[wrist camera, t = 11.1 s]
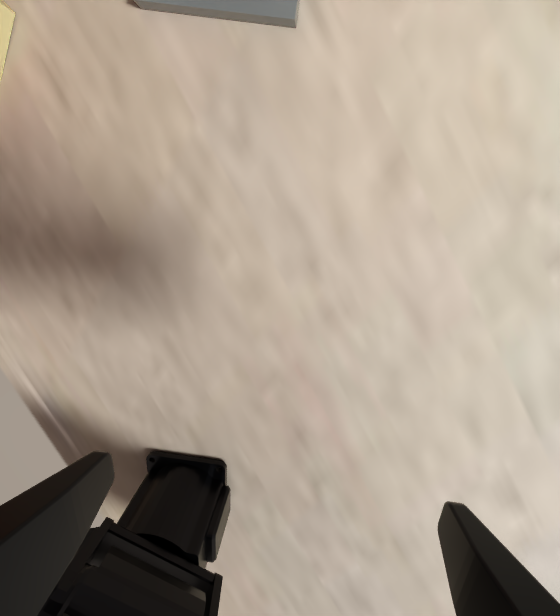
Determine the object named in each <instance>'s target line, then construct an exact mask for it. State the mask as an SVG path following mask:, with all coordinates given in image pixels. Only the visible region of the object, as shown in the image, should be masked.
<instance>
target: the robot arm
mask: <svg viewBox="0 0 560 616" xmlns="http://www.w3.org/2000/svg"><path fill="white" fill-rule="evenodd" d="M146 460H147V470H148V474H147V476H146V477H145V479H144V481H143V482H142V484H141V485H140V487H139V489H138V490H137V492H136V493H135V495H134V497H133V498H132V500H131V501H130V503H129V505H128V506H127V508H126V510H125V511H124V513H123V514H122V516H121V518H120V519H119V521H118V522H117V524H116V523H114V520H112V519H110V518H108V517H106V519H105V520H104V521H103V523H102V524H101V526H100V527H96V528H90V527H91V525H92V523H93V521H94V519H95V517H96V515H97V513H98V511H99V509H100V507H101V505H102V503H103V501H104V499H105V497H106V495H107V493H108V491H109V489H110V487H111V485H112V483H113V480H114V468H113V461H112V456H111V454H110V453H109V452H104V451H94V452H92V453H90V454H88V455H87V456H85V457H83V458H81V459H80V460H78V461H76V462H75V463H73V464H71V465H69V466H68V467H66V468H64V469H63V470H61V471H59V472H58V473H56V474H54V475H52V476H51V477H49V478H47V479H45V480H44V481H42V482H40V483H38V484H37V485H35V486H33V487H32V488H30V489H28V490H27V491H25V492H23V493H21V494H20V495H18V496H16V497H14V498H13V499H11V500H9V501H8V502H6V503H4V504H2V505H1V506H0V616H217V615H218V608H219V601H220V593H221V586H222V578H223V576H221V575H219V574H217V573H215V574H214V573H212V572H210V571H208V570H206V569H205V568H206V565H207V562H214V561H215V560H216V558H217V554H218V551H219V548H220V544H221V541H222V537H223V534H224V530H225V527H226V523H227V520H228V516H229V513H230V488H229V486H227V466H226V464H225V463H224V462H223V461H219V460H212V459H205V458H198V457H191V456H184V455H177V454H170V453H163V452H156V451H152V452H150V453H149V454H148V456H147V458H146ZM219 467H220V468H219ZM438 535H439V540H440V544H441V549H442V554H443V558H444V563H445V568H446V573H447V577H448V582H449V587H450V591H451V596H452V600H453V604H454V608H455V612H456V615H457V616H560V604H559V602H558V601H557V600H556V599H555V598H554V597H553V596H552V595H551V594H550V593H549V592H548V591H547V590H546V589H545V588H544V587H543V586H542V585H541V584H540V583H539V582H538V581H537V580H536V578H535V577H534V576H533V575H532V574H531V573H530V572H529V571H528V570H527V569H526V568H525V567H524V566H523V565H522V564H521V563H520V562H519V561H518V560H517V559H516V558H515V557H514V556H513V554H512V553H511V552H510V551H509V550H508V549H507V548H506V547H505V546H504V545H503V544H502V543H501V542H500V541H499V540H498V539H497V538H496V537H495V536H494V535H493V534H492V533H491V532H490V530H489V529H488V528H487V527H486V526H485V525H484V524H483V523H482V522H481V521H480V520H479V519H478V518H477V517H476V516H475V515H474V514H473V513H472V512H471V511H470V510H469V509H468V508H467V507H466V506H465V505H464V504H462V503H457V502H450V501H448V502H446V503H445V504H444V507H443V510H442V513H441V516H440V519H439V522H438Z"/></svg>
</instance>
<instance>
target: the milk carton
mask: <svg viewBox="0 0 560 616" xmlns="http://www.w3.org/2000/svg"><path fill="white" fill-rule="evenodd" d="M14 17H15V12H14V11H13V10H12V9H11V8H10V7H9V6H8V5H7V4H6V3H5V2H4V1H3V0H0V82H1V78H2V73H3V68H4V64H5V59H6V54H7V50H8V45H9V40H10V36H11V31H12V26H13V22H14Z"/></svg>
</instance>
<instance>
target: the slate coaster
mask: <svg viewBox="0 0 560 616" xmlns="http://www.w3.org/2000/svg"><path fill="white" fill-rule="evenodd" d="M133 1H134V2H135V3H136V4H137V5H138V6H139V7H140V8H141V9H147V10H155V11H163V12H171V13H179V14H188V15H196V16H204V17H212V18H220V19H228V20H236V21H244V22H253V23H261V24H269V25H277V26H285V27H293V28H296V25H297V17H298V9H299V2H300V0H133Z"/></svg>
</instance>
